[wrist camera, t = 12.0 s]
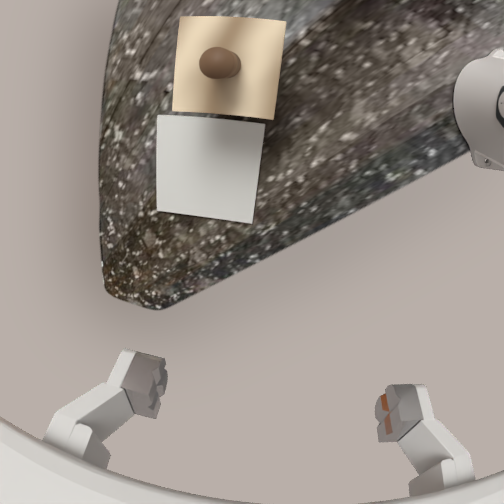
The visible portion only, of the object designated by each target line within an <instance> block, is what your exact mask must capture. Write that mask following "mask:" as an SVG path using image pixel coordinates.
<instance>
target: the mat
mask: <svg viewBox="0 0 504 504" xmlns="http://www.w3.org/2000/svg"><path fill="white" fill-rule="evenodd" d="M264 131H265V124H263V123H255V122H247V121H238V120H228V119H218V118H206V117H192V116H174V115H158V119H157V211H164V212H172V213H179V214H187V215H194V216H201V217H209V218H216V219H223V220H230V221H237V222H244V223H251V224H252V222H253V214H254V207H255V199H256V191H257V184H258V176H259V168H260V161H261V153H262V146H263V138H264Z"/></svg>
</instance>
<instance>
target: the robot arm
mask: <svg viewBox="0 0 504 504" xmlns="http://www.w3.org/2000/svg"><path fill="white" fill-rule="evenodd" d="M453 102H454V112H455V117H456V121H457V124H458V127H459V129H460V131H461V133H462V135H463V136H464V138H465V139H466V141H467V143H468V145H469V147H470V152H471V157H472V160H473V162H474V164H475V165H476V166H478V167H481V168H487V169H494V170H501V171H504V51H503V50H501V49H495V50H494V51H492V52H491V53H490V54H489V55H488V56H487V57H485V58H481V59H476V60H474V61H472V62H470V63H469V64H467V65H466V66H465V67H464V68H463V70H462V71H461V73H460V74H459V76H458V79H457V81H456V84H455V89H454V98H453ZM486 158H487V160H486V162H485V159H486ZM165 365H166V362H165V358H161V357H157V356H153V355H149V354H145V353H141V352H138V351H133V350H129V349H126V348H125V349H123V351H122V352H121V353H120V356H119V358H118V360H117V362H116V364H115V366H114V368H113V370H112V372H111V374H110V376H109V379H108V381H107V383H101V384H99V385H98V386H96V387H95V388H93V389H92V390H90V391H88V392H87V393H85V394H84V395H82V396H81V397H79V398H77V399H76V400H74V401H72V402H71V403H69V404H68V405H66V406H64V407H63V408H61V409H60V410H58V411H56V413H55V415H54V417H53V419H52V421H51V423H50V425H49V427H48V429H47V431H46V433H45V436H44V438H43V440H40V439H38V438H36V437H34V436H32V435H30V434H29V433H26V432H25V431H23V430H22V429H20V428H18V427H16V426H15V425H13V424H11V423H10V422H8V421H6V420H5V419H3V418H2V417H0V504H259V503H249V502H240V501H232V500H225V499H218V498H212V497H206V496H201V495H196V494H191V493H186V492H182V491H177V490H173V489H169V488H165V487H161V486H157V485H154V484H150V483H146V482H143V481H140V480H136V479H133V478H130V477H127V476H124V475H121V474H118V473H115V472H112V471H109V470H107V465H108V462H109V459H110V456H111V455H110V453H109V451H108V450H107V449H106V447H105V446H104V445H103V444H102V441H104V440H105V439H106V438H107V437H108V436H110V435H111V434H112V433H113V432H115V431H116V430H117V429H118V428H119V427H121V426H122V425H123V424H124V423H125V422H127V421H128V420H129V419H130V418H131V417H132V416H133V415H134V414H138V415H142V416H145V417H149V418H154V419H156V418H157V414H158V411H159V408H160V405H161V403H160V399H159V397H161V396H162V395H164V393H165V390H166V385H167V377H168V376H167V371H166V370H165V369H164V367H165ZM385 392H386V393H385V394H383V395H381V396H380V397H379V399H378V400H377V402H376V406H375V416H376V419H377V420H378V421H379V422H380V424H379V425H378V427H377V432H378V439H379V442H397V443H398V444H399V446H400V447H401V449H402V450H403V452H404V453H405V454H406V456H407V458H408V459H409V460H410V462H411V464H412V465H413V466H414V468H415V469H416V471H417V472H418V474H419V476H418V477H416V478H414V479H413V480H411V481H410V482H409V493H410V497H407V498H401V499H394V500H387V501H380V502H371V503H361V504H504V470H503V471H501V472H498V473H495V474H493V475H490V476H487V477H484V478H481V479H479V480H475V475H474V470H473V465H472V461H471V456H470V453H469V452H468V451H467V450H466V449H465V448H464V447H463V445H462V444H461V443H460V442H459V441H458V440H457V439H456V438H455V437H454V436H453V435H452V434H451V432H450V431H449V430H448V429H447V428H446V427H445V426H444V425H443V424H442V423H441V422H440V421H439V420H438V419H435V417H434V414H433V409H432V406H431V402H430V398H429V395H428V391H427V388H426V386H425V385H424V384H414V385H412V384H401V385H389V386H388V387H387V388H386V389H385Z"/></svg>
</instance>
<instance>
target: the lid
mask: <svg viewBox="0 0 504 504" xmlns="http://www.w3.org/2000/svg"><path fill="white" fill-rule="evenodd" d="M285 29H286V21H277V20H268V19H257V18H244V17H220V16H192V17H180V23H179V32H178V41H177V51H176V63H175V75H174V89H173V106H172V111H184V112H201V113H215V114H227V115H237V116H247V117H255V118H264V119H271V120H273V119H274V113H275V106H276V98H277V91H278V83H279V75H280V68H281V60H282V53H283V45H284V37H285Z"/></svg>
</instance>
